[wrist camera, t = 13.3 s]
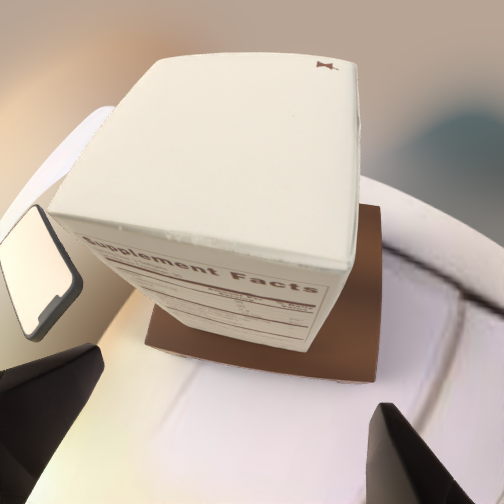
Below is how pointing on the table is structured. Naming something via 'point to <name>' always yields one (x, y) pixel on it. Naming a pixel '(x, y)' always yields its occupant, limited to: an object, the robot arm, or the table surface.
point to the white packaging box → (227, 191)
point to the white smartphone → (38, 274)
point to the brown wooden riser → (325, 342)
